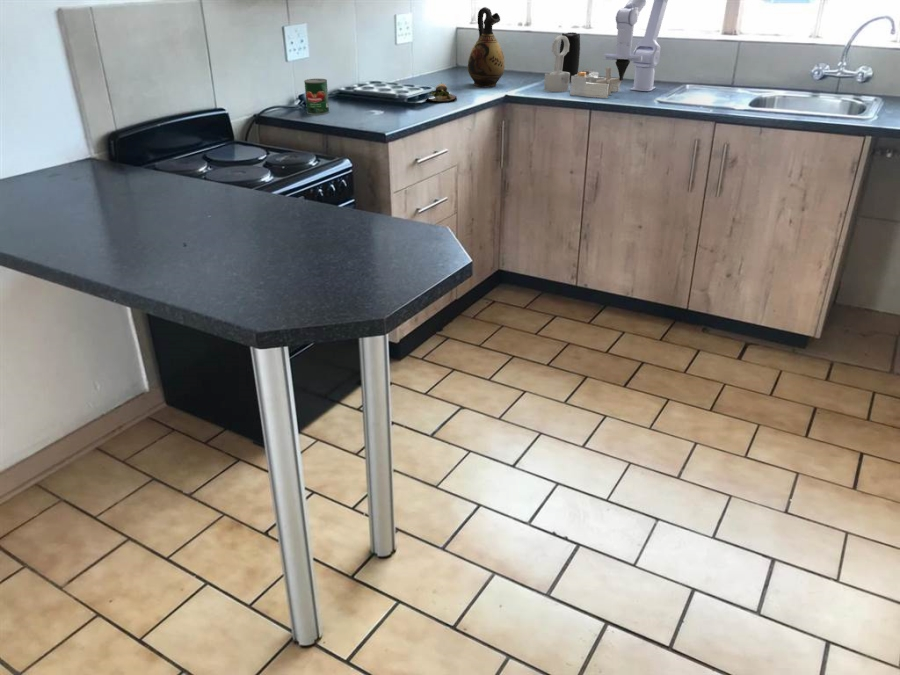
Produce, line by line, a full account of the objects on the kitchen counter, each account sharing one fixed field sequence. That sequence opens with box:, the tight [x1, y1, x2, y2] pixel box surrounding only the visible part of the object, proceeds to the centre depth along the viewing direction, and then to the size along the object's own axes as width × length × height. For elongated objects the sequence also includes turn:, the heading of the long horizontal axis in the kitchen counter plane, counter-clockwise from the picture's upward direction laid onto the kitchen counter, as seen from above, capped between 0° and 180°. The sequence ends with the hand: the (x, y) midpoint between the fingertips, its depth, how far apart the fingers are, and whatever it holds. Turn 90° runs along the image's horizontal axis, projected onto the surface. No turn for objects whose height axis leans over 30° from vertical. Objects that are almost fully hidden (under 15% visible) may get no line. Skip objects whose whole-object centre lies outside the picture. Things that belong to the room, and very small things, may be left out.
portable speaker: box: [559, 32, 581, 81], centre depth 319 cm, size 8×9×19 cm
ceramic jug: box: [467, 6, 506, 88], centre depth 307 cm, size 17×15×30 cm
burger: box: [427, 83, 458, 102], centre depth 283 cm, size 12×12×8 cm
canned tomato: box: [303, 78, 330, 116], centre depth 263 cm, size 8×8×11 cm
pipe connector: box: [595, 67, 623, 96], centre depth 290 cm, size 10×10×10 cm
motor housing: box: [569, 68, 621, 99], centre depth 294 cm, size 16×15×8 cm
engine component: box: [543, 34, 571, 93], centre depth 299 cm, size 11×20×10 cm
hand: (620, 80), depth 288 cm, fingers closed, pressing on pipe connector
